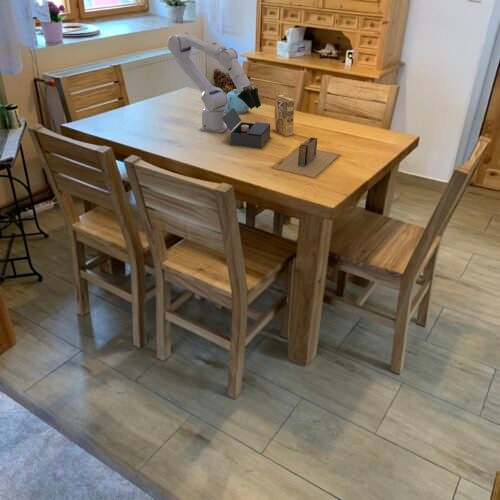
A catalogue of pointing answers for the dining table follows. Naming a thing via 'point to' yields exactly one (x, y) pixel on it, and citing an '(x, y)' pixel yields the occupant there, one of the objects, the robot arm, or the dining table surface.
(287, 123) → the candy box
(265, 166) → the dining table surface
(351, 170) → the dining table surface
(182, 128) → the dining table surface
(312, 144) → the architectural model on board
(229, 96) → the teapot
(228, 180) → the dining table surface
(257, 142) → the carton
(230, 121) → the flap
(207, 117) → the robot arm
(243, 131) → the red-banded cylinder
